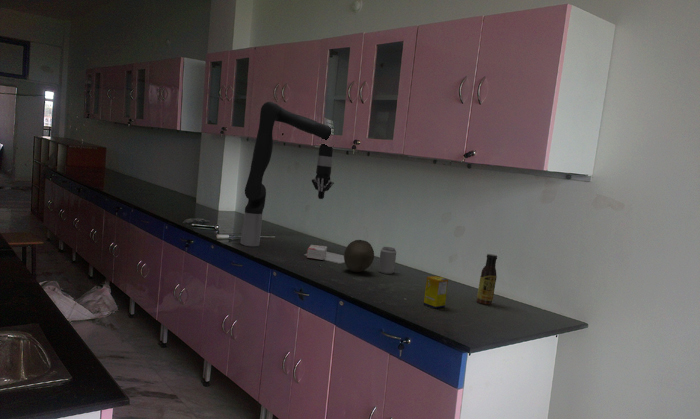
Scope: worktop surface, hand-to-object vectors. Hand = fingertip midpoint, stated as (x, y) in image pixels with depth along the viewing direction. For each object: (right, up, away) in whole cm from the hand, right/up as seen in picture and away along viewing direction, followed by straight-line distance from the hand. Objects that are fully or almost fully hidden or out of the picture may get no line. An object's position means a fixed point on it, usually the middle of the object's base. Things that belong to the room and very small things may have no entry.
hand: (320, 198), depth 277 cm
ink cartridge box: (-2, -27, -13) cm, 30 cm away
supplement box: (+47, -42, -73) cm, 97 cm away
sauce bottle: (+69, -43, -60) cm, 101 cm away
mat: (+6, -30, -2) cm, 31 cm away
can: (+32, -35, -23) cm, 53 cm away
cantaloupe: (+18, -35, -30) cm, 49 cm away
